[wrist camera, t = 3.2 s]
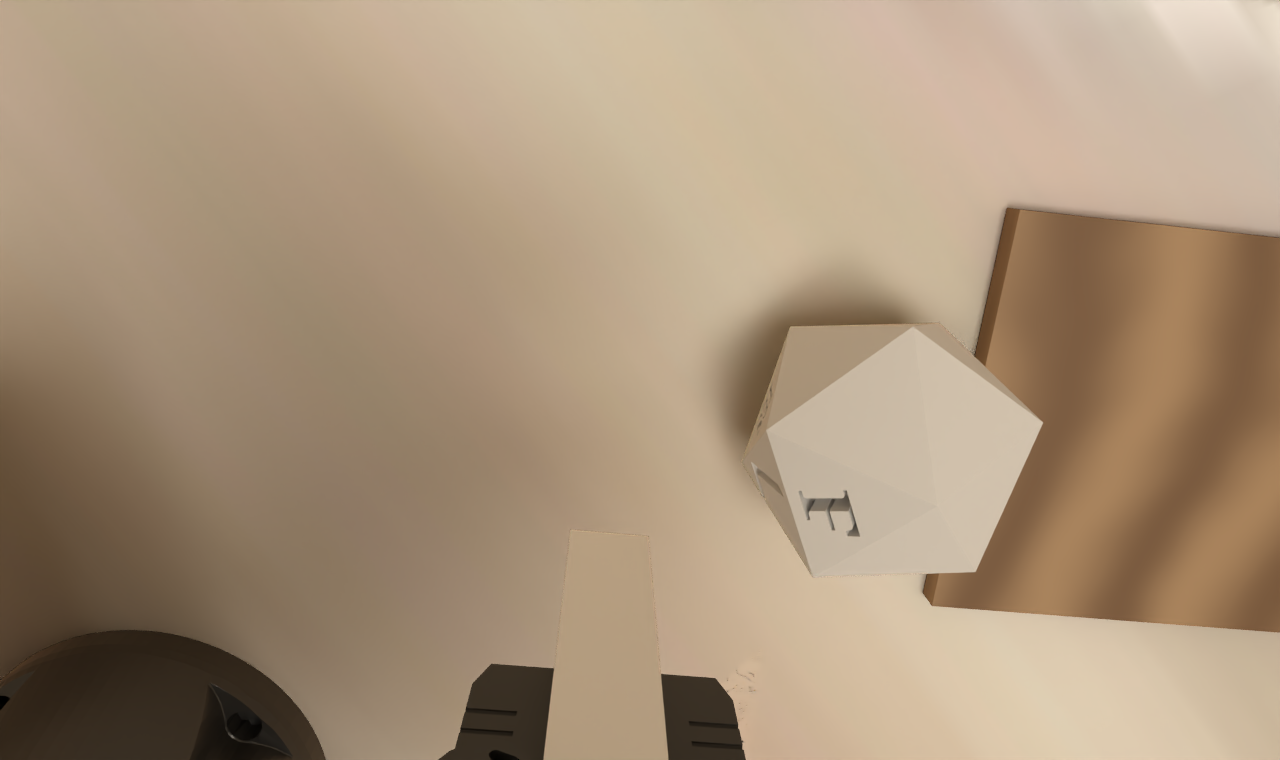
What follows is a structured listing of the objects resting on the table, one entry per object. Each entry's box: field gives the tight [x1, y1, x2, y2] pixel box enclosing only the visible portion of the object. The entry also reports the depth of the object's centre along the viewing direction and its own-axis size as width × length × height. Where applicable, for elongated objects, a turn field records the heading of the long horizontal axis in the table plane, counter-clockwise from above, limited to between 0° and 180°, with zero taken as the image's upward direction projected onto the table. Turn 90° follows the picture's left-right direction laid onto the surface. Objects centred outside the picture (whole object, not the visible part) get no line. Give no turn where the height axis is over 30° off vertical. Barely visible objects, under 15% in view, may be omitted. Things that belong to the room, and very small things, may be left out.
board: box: [923, 208, 1280, 632], centre depth 32 cm, size 18×16×2 cm
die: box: [741, 323, 1043, 578], centre depth 27 cm, size 8×9×10 cm
